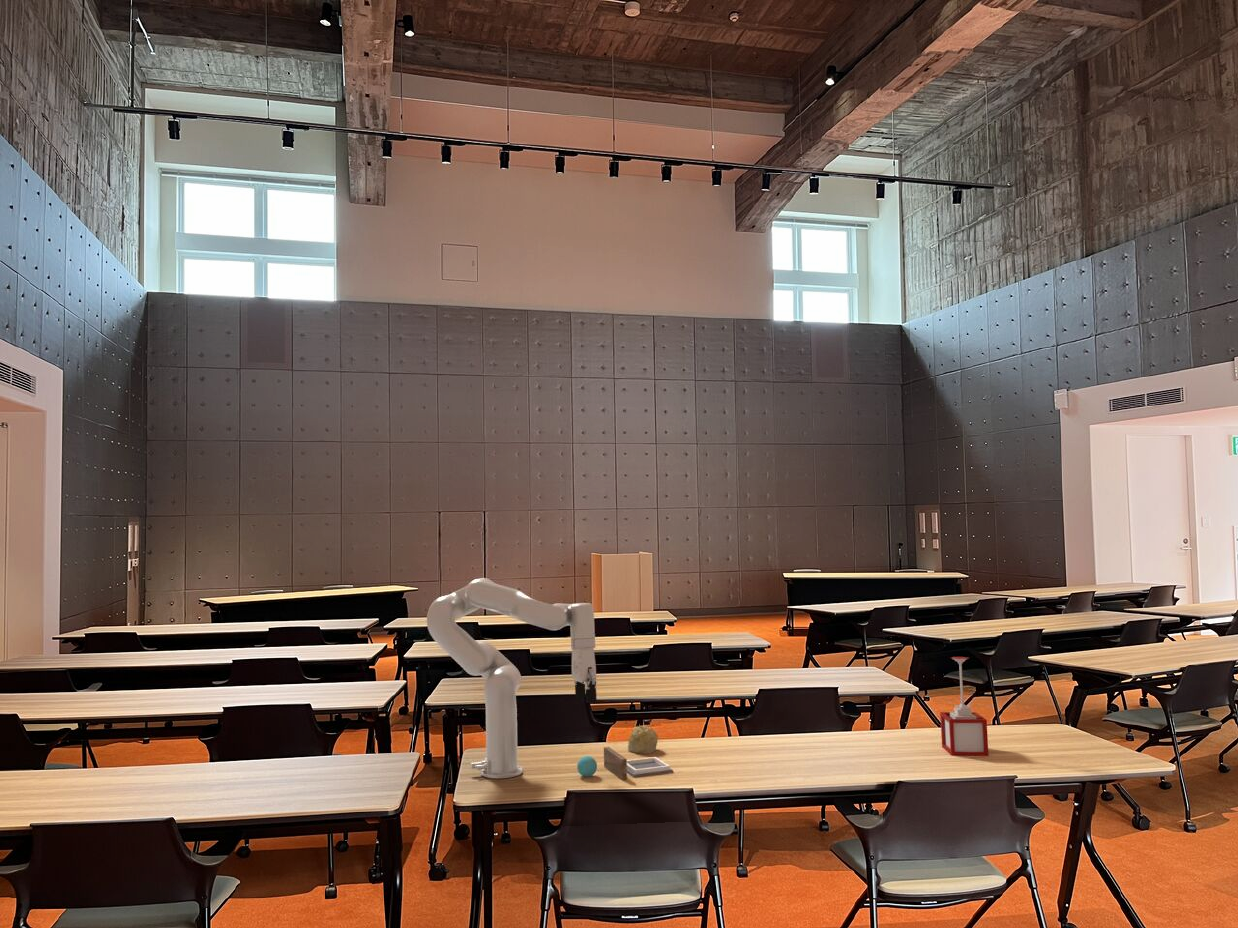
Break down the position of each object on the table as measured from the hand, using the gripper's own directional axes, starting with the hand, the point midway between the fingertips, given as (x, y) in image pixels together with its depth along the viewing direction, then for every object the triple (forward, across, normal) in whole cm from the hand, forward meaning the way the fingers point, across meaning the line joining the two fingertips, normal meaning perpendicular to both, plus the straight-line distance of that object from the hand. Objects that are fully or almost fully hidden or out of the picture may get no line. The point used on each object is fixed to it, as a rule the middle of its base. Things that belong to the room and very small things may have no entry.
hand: (585, 699), depth 260 cm
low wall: (+22, +4, +7) cm, 24 cm away
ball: (+19, +3, -2) cm, 19 cm away
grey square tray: (+23, +4, +17) cm, 29 cm away
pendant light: (+26, +30, +119) cm, 126 cm away
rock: (+23, -18, +26) cm, 39 cm away
